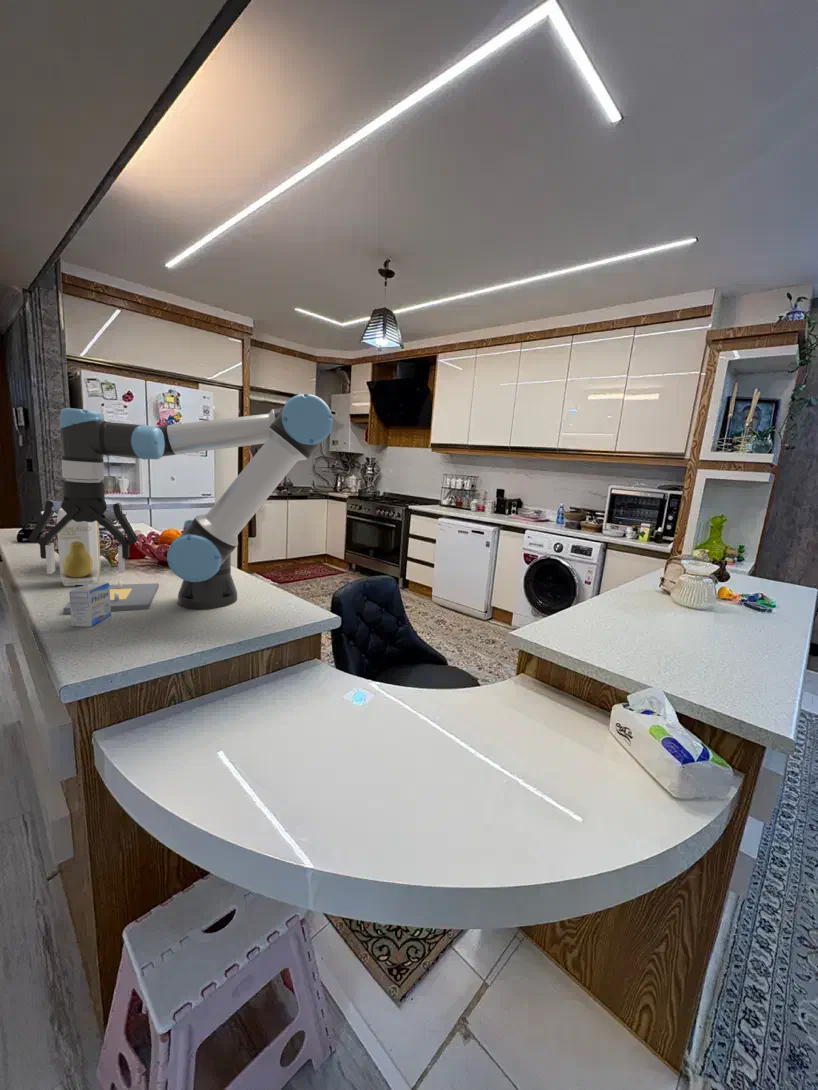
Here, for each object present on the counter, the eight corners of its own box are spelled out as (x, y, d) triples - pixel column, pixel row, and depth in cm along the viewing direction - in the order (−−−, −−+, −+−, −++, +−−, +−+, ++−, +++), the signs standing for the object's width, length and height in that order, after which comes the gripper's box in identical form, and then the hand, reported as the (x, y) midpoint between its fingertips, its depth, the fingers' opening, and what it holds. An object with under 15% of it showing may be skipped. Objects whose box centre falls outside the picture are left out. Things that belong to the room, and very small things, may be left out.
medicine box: (91, 627, 100) (89, 591, 99) (70, 626, 100) (68, 590, 98) (111, 615, 108) (110, 582, 106) (92, 615, 108) (90, 581, 106)
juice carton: (59, 588, 125) (53, 504, 121) (64, 580, 132) (59, 501, 127) (99, 585, 129) (95, 505, 125) (102, 578, 136) (98, 502, 132)
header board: (158, 588, 132) (158, 576, 131) (148, 609, 114) (148, 597, 113) (86, 590, 125) (85, 578, 124) (64, 614, 107) (63, 600, 106)
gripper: (150, 483, 106) (151, 567, 110) (20, 475, 96) (26, 568, 100) (145, 485, 100) (146, 575, 103) (5, 477, 90) (12, 577, 93)
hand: (87, 572), depth 102 cm, fingers open, 13 cm apart
